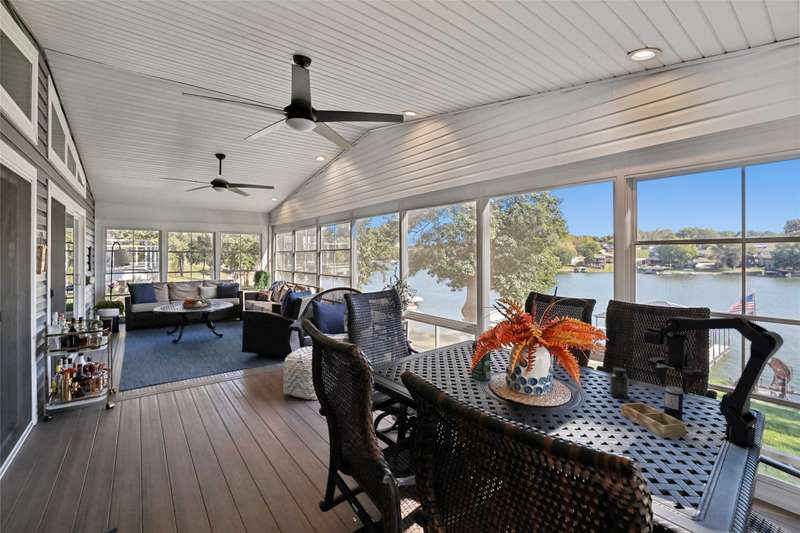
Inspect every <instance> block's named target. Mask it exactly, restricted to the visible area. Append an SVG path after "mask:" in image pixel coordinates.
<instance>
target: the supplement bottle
mask: <svg viewBox="0 0 800 533" xmlns="http://www.w3.org/2000/svg"><path fill="white" fill-rule="evenodd" d="M609 385H610V386H609V394H610V396H612V397H614V398H617V399H623V400H624V399H627V398H628V396H629V377H628V376H627V370H626V369H625V368H622V367H613V370H612V373H611V375H610V382H609Z"/></svg>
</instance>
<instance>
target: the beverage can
mask: <svg viewBox="0 0 800 533" xmlns="http://www.w3.org/2000/svg"><path fill="white" fill-rule="evenodd" d="M665 386H666V388H665V389H664V399H663V400H664V401H663V413H665V414H667V415H669V416H671V417H673V418H675V419H677V420H679V421H682V420H683V413H684V411H683V407H684V391H683V388H681V387H679V386H674V385H665Z"/></svg>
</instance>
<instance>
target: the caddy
mask: <svg viewBox="0 0 800 533" xmlns="http://www.w3.org/2000/svg"><path fill="white" fill-rule="evenodd" d="M621 415H622V416H623V417H625V418H627V419H629V420H630V421H632V422H634V423H636V424H637V425H638V426H641V427H643V428H645V429H646V430H649V431H650V432H652V433H654V434H655V435H658V436H659V437H662V439H665V438H671V437H673V438H674V437H680V436H681V437H682V436H687V423H685V422H683V421H682V420H680V421H679V420H677V419H675V418H673V417H671V416H669V415H667V414H665V413H664V411H663V412H662V411H661V410H658V409H657V408H654V407H653V406H650V405H648V404H646V403H644V402H642V401H641V402H630V403H629V402H628V403H621V404H620V416H621Z"/></svg>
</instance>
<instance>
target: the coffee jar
mask: <svg viewBox="0 0 800 533" xmlns="http://www.w3.org/2000/svg"><path fill="white" fill-rule="evenodd" d="M478 340H479V339H478ZM478 340H473V342H472V344H471V351H472V356H473V355H474V353H475V351H476V346H477V341H478ZM491 354H492V351H489V352H488V353H487V354H486V355H484V356H483V358H482V359H481V360H480V361H479V362H478V363H477V365H476V366H475V368H473V369H472V368H471V372H470V374H471V377H472V378H474V379H475V380H479V381H489V380H490V379H491V378H492V369H491Z"/></svg>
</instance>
